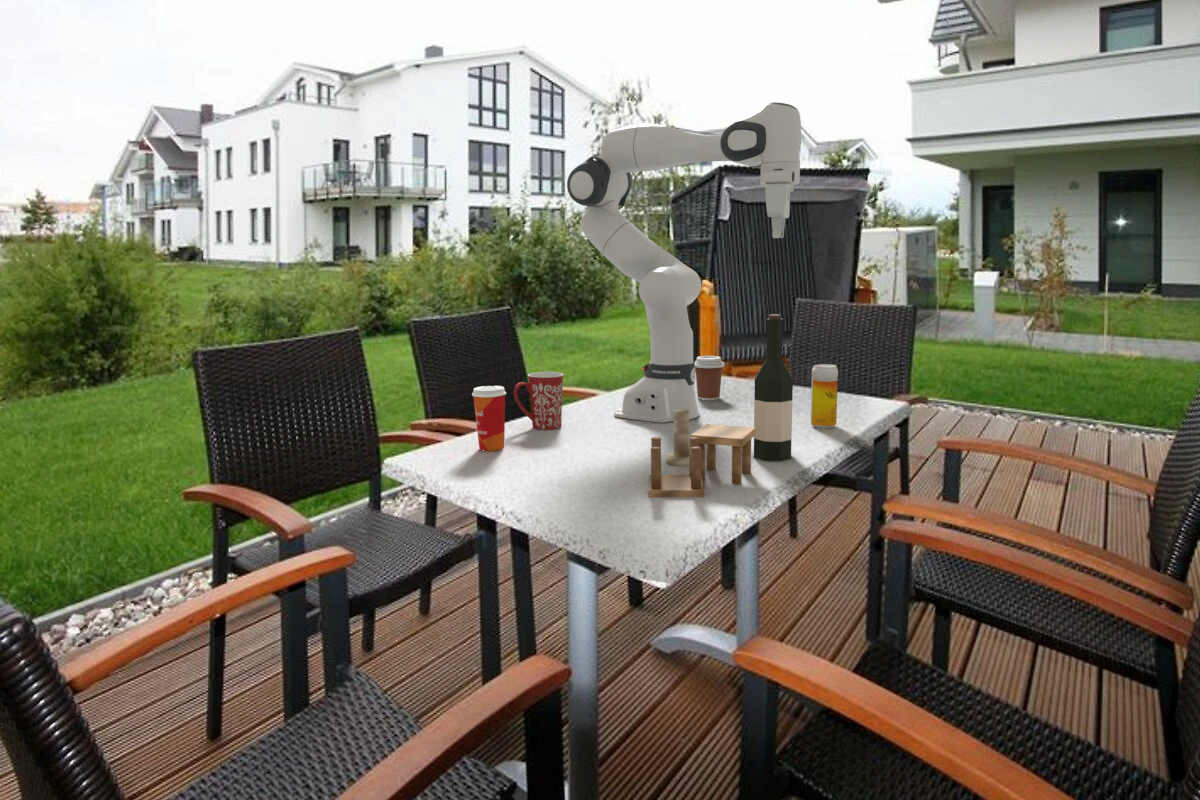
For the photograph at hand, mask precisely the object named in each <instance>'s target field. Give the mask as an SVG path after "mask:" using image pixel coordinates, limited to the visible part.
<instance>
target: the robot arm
mask: <svg viewBox="0 0 1200 800" xmlns="http://www.w3.org/2000/svg"><path fill="white" fill-rule="evenodd" d="M801 122H802V120H801V113H800V111H799V109H798V108H797V107H796V106H794V105H792V104H788V103H785V102H777V101H776V102H768V103H766V104H765V105H764V106H763V107H762V108H761V109H760V110H758V111H756V112H755V113H753V114H751V115H749V116H748V117H744V118H742V119H739V120H736V121H733V122H731V123H729V124H728V125H727V126H726V127H725V128H724V130H723V131H722V134H704V135H703V134H696V133H691V132H688V131H685V130H681V129H678V128H676V127H672V126H668V125H663V124H650V123H649V124H648V123H647V124H637V125H636V124H635V125H630V126H625V127H621V128H617V129H614V130H611V131H609V132H607V133H606V134H605V135H604V137H603V139H602V141H601V145H600V154H599V155H598V156H595V155H592V156H590V157H589V158H587V159H586V160H584V161H583V162H582V163H580V164H578V165H577V166H575V168H573V169H572V170H571V172H570V173H569V175H568V177H567V181H566V187H567V192H568V195H569V196H570V198H571V199H572V201H573V202H575V203H577V204H579V205H581V206H584V207H586V211H585V212H584V214H583V215H582V218H581V219H580V228H581V231H582V233H583V234H584V235H585V237H586V238H587V239H588V241H589V242H590V243H591V244H592V246H594V248H595V249H597V251H598V252H599V253H600V254H601V255H602V256H603V257H604V258H606V259H607V260H608V261H609V262H610V263H611V264H613V265H614V266H615V267H616V268H617V269H618V270H619V271H620V272H621V273H622V274H623V275H624V276H626V277H628V278H631V279H633V280H634V281H636V282H637V283H638V284H639V286H638V287H639V288H638V294H639V298H640V300H641V301H642V303H643V305H644V310H645V313H646V319H647V323H648V328H649V336H650V337H649V338H650V341H649V342H650V343H649V344H650V361H649V362H647V363H646V364H645V365H644V366H642V367H641V368H642V370H641V371H642V372H643V373H644V376H643V377H642V378H640V379H639V380H638V381H637V382H635V383H634V384H633V385H632V386H630V387H629V388H628V389H626V391H625V392H624V394H623V397H622V399H623V400H622V405H621V406H620V407H618V408H617V409H616V410H614V412H613V416H614V417H615V418H623V419H630V420H638V421H645V422H654V423H660V424H661V423H662V424H663V423H669V422H674V410H676V409H687V410H689V420H692V419H696V418H697V417H699V416H700V411H699V408H698V404H697V399H696V391H695V383H696V370H695V363H694V331H693V329H692V328H691V324H690V320H689V319H690V318H689V314H688V308H687V306H689V305H691V304H692V303H693V302H694V301H695V300H696V299H697V298H698V296H699V295H700V293H701V290H702V280H701V278H700V276H699V274H698V273H697V271H695V270H693V268H691V267H689V266H687V265H686V264H684V262H683V261H680V259H678V258H677V257H675V256H674V255H672V253H670V252H668V251H667V250H665V249H664V248H663V247H661V246H659V245H658V244H656V243H655V242H654V241H653V240H651V239H650V238H649V237H648V236H646V235H645V234H644V232H642V231H641V230H640V229H639V228H638V227H637V226H635V225H634V224H633V223H632V222H631V221H630V220H629V219H627V218H626V217H625V216H624V215H623V214H622V213H621V211H620V210H621V209H623V208H624V206H625V204H626V201H627V198H628V196H629V194H630V192H631V190H632V187H633V186H632V185H633V177H632V174H631V173H632V172H650V171H651V172H652V171H658V170H665V169H670V168H674V167H679V166H683V165H688V164H693V163H700V162H702V163H703V162H727V161H728V162H734V163H735V164H739V165H744V166H747V167H750V168H754V169H760V181H759V183H760V186H764V188H765V206H766V213H767V217H768V218H771V229H772V232H771V233H772V234H771V236H772V238H773V239H783V238H784V236H785V235H784V234H785V225H786V219H789V217H790V209H791V207H790V205H791V192H792V193H793V192H794V191H795V190H794V188H795V186H796V185H799V184H800V180H801V179H800V173H801V170H800V169H801V159H800V154H799V153H800V147H801V144H802V143H801V142H802V123H801Z"/></svg>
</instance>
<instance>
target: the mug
mask: <svg viewBox="0 0 1200 800" xmlns="http://www.w3.org/2000/svg"><path fill="white" fill-rule="evenodd" d="M527 379H528V382H524V381H521V382H518V383H517V384H515V386H514V389H513V396H514V400H515V402H516V404H517V405H518V407H519V408H520V410H521V411H522V413H524V415H526V417H528V419H530V420H531V422H532V423H531V425H532V428H534V429H536V430H543V431H545V430H546V431H550V429H551V430H556V429H560V428H561V427H562V415H563V389H564V388H563V383H564V382H563V381H564V380H563V379H564V373H563V372H558V371H537V372H532V373H528V374H527ZM520 387H525V389H527V392H528V393H529V399H530V409H531V413H530V412H529V411H527V409H526V408H525V407H524V406H523V404H522V403H521V402H520V400H519V393H518V392H519V389H520Z"/></svg>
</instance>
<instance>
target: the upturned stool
mask: <svg viewBox="0 0 1200 800" xmlns="http://www.w3.org/2000/svg"><path fill="white" fill-rule="evenodd" d="M650 439H651V441H650V442H651V447H650V474H649V475H648V476H649V478H648V491H647V492H648V496H647V497H648V498H705V488H704V482H703V481H704V480H702V474H701V448H700V447H699V438H698V437H691V436H690V437H689V452H690V466H689V474H662V438H661V437H657V436H656V437H651V438H650Z"/></svg>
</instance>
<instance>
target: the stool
mask: <svg viewBox="0 0 1200 800" xmlns="http://www.w3.org/2000/svg"><path fill="white" fill-rule="evenodd" d="M755 430H756V428H755V427H754V426H743V425H742V426H740V425H725V424H714V423H713V424H712V423H706V424H705V425H703V426H702V427H700V428H699V429H697V430H696V431H694V432H693V433H691V434H690V438H691V437H698V438H699V447H700V448H701V474H702V481H705V480H706V470H707V471H711V472H712V471H716V466H717V465H716V463H717V460H716V459H717V458H716V457H717V454H716V453H717V452H716V451H717V447H716V445H717V446H725V447H727V446H728V447H731V484H733V485H740V484H742V474H743V475H750V474H751V473H752V439H754V436H755Z"/></svg>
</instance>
